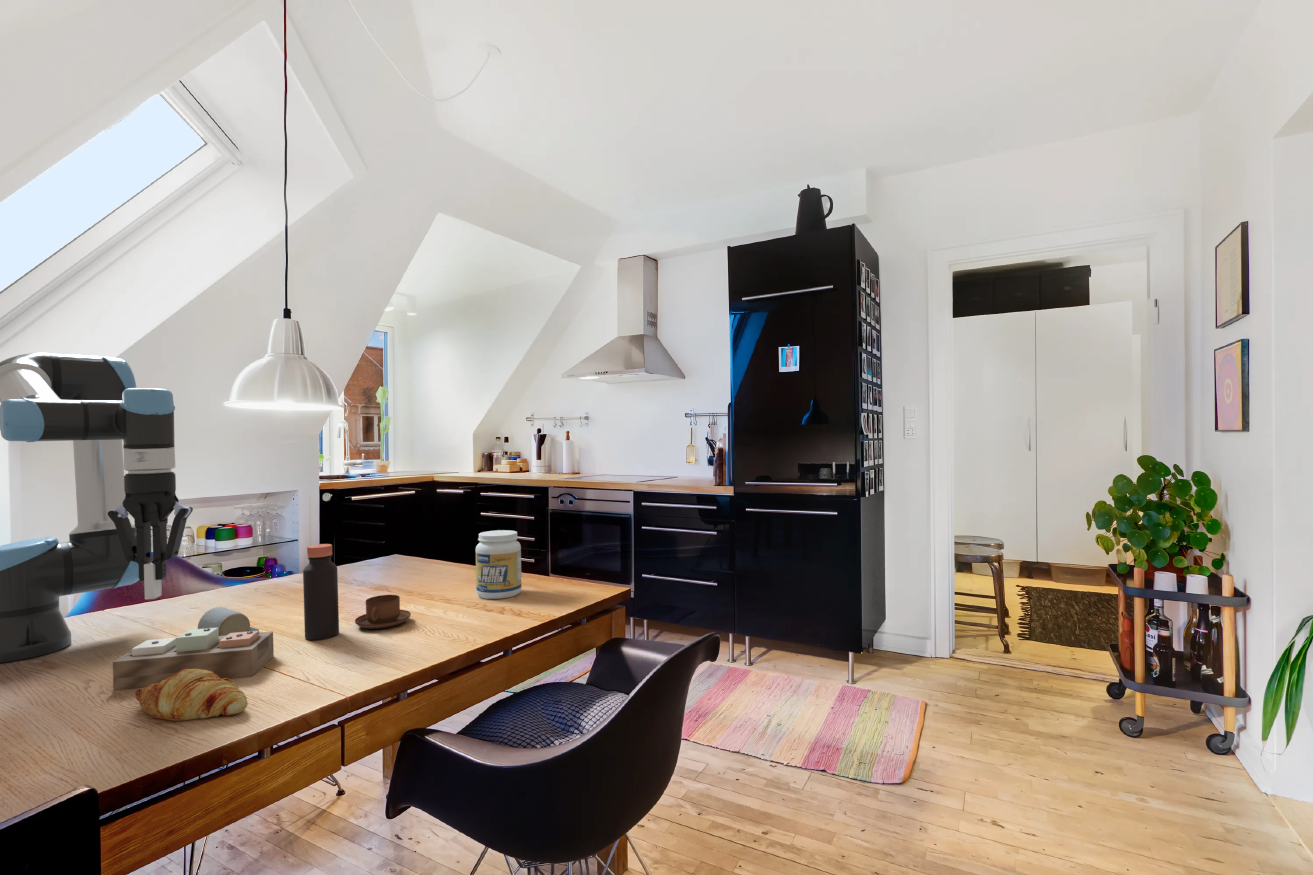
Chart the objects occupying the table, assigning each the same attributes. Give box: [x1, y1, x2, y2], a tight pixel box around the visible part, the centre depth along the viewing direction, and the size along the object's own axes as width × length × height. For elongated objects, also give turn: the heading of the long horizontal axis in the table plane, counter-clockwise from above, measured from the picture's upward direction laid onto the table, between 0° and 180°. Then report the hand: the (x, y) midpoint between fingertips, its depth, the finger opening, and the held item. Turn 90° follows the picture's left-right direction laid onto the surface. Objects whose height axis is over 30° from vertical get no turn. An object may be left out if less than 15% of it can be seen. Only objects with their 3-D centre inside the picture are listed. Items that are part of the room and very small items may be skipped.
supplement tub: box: [474, 529, 522, 600], centre depth 174 cm, size 12×12×17 cm
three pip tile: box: [219, 630, 260, 648], centre depth 122 cm, size 5×5×4 cm
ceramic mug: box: [197, 606, 260, 636], centre depth 139 cm, size 10×8×7 cm
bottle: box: [302, 543, 340, 641], centre depth 140 cm, size 7×7×20 cm
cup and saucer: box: [354, 594, 412, 630], centre depth 148 cm, size 12×12×6 cm
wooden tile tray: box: [112, 631, 275, 691], centre depth 120 cm, size 22×11×5 cm, turn 103°
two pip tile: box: [175, 628, 219, 652], centre depth 120 cm, size 5×5×4 cm
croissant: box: [134, 668, 249, 722], centre depth 103 cm, size 21×10×8 cm, turn 79°
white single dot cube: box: [131, 637, 177, 656], centre depth 118 cm, size 5×5×4 cm
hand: (153, 597), depth 119 cm, fingers closed
